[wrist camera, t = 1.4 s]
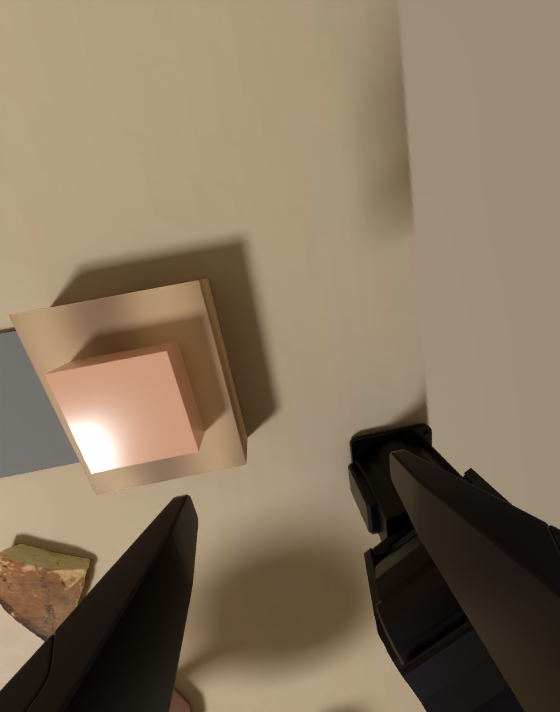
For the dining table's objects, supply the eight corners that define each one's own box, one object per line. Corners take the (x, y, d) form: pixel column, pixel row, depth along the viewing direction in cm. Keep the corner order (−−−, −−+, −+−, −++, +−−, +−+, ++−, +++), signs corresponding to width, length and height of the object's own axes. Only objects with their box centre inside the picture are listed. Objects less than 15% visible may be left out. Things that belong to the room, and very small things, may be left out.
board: (208, 278, 18) (198, 280, 15) (247, 437, 21) (246, 464, 18) (49, 307, 17) (8, 315, 14) (117, 464, 21) (95, 494, 18)
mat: (52, 323, 18) (48, 324, 17) (109, 453, 21) (107, 456, 20) (-93, 350, 17) (-99, 351, 17) (-13, 478, 20) (-17, 481, 20)
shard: (68, 633, 27) (56, 658, 25) (-20, 618, 25) (-40, 643, 23) (99, 554, 24) (87, 576, 22) (2, 532, 23) (-19, 553, 21)
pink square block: (177, 341, 16) (166, 351, 14) (204, 431, 17) (198, 451, 15) (70, 361, 15) (44, 374, 13) (109, 450, 17) (91, 473, 15)
